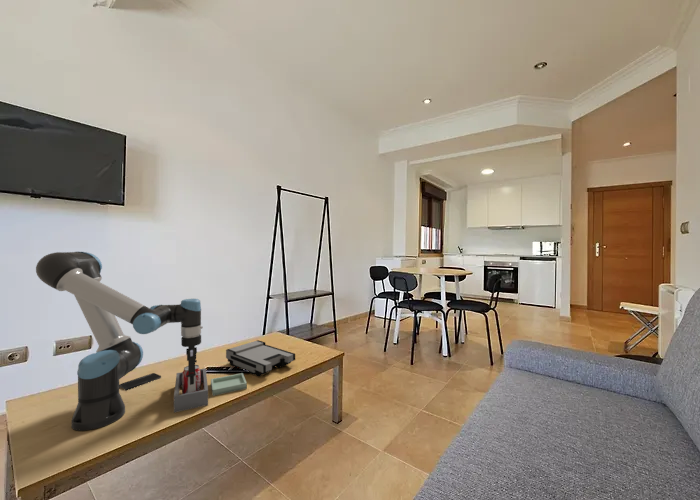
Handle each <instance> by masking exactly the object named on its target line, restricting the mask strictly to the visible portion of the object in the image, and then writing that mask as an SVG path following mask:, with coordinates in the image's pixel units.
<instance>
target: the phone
mask: <svg viewBox="0 0 700 500" xmlns="http://www.w3.org/2000/svg"><path fill="white" fill-rule="evenodd" d="M160 379H162V376H161V375H160V374H157V373H155V372H152V373H149V374H145V375H143V376H141V377H137V378H135V379H131V380H128V381H125V382H122V383H119V388H120V387H121V389H122V388H123V389H122V390H124V389H125V391H129V390H131V388H132V389H135V388H137V386H138V387H140V385H141V386H143V385H146V384H149V383H151V381H152V382H154V380H155V381H156V380H160ZM148 382H149V383H148ZM134 387H135V388H134ZM128 389H129V390H128Z"/></svg>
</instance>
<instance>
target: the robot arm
mask: <svg viewBox="0 0 700 500" xmlns="http://www.w3.org/2000/svg"><path fill="white" fill-rule="evenodd" d="M102 269H103V264H102V262H101V259H99V257H98V256H97V255H95V254H93V253H90V252H87V251H86V252H85V251H72V252H71V251H68V252H66V251H65V252H63V251H62V252H60V251H59V252H58V251H57V252H52V253H48V254H46V255H44V256H43V257H41V258H40V259H39V260H38V262H37V264H36V265H35V272H36V276H37V277H38V279H39V280H40V281H42V282H43V283H44V284H46V285H47V286H49V287H51V288H53V289H55V290H56V291H59V292H67V293H69V294H72V295H74V298H75V300H76V302H77V303H78V304H77V305H78V306H79V308H80V310H81V312H82V314H83V316H84V318H85V320H86V323H87V324H88V326H89V328H90V331H91V332H92V335H93V336H94V338H95V340H96V343H97V345H98V348H97V350H96V352H95V353H91V354H88V355H87V356H85V357H83V358H82V359H80V361H79V363H78V367H77V399H78V400H77V402H78V403H77V405H76V407H75V411H74V413H73V416H72V418H71V429H72V430H74V431H78V432H81V431H82V432H83V431H84V432H85V431H90V430H91V431H92V430H95V429H98V428H103V427H105V426H108V425H110V424H112V423H114V422H115V423H116V421H118V420H120V419H121V418H122V417H123V416H124V415H125V414H126V405H125V402H124V400H123V398H122V395H121V393H120V387H119V385H120V380H121V379H122V378H123V377H125V376H126V375H127V374H129V373H130V372H132V371H134V370H136V368H137V367H138V366H139V365H140V363H142V360H143V357H144V350H143V348H142V345H140V344H139V343H138V342H135V341H133V340H132V338H131V336H129V335H126V334H124V332H123V330H122V328H121V326H120V324H119V322H118V320H117V318H119V319H121V320H124V321H125V322H127V323H129V324H131V325H132V328H133V330H134V331H135V333H137V334H140V335H147V334H151V333H154V332H155V331H157V330H159V328H162V327H163V326H165V325H167V324H174V323H180V324H181V325H180V326H181V327H180V331H181V332H180V336H181V338H180V339H181V342H180V343H181V346H182V347H183V348H186V349H185V350H186V351H185V352H186V354H185V355H186V361H187V363H188V365H187V366H188V375H186V377H188V392H193V391H196V373H195V365H196V363H197V353H198V351H197V350H198V349H197V346H199V345H201V344H202V329H203V326H202V322H201V321H202V305H201V300H200V299H198V298H185V299H182V300H181V301H180V303H179V304H159V305H158V304H157V305H153V306H152V305H151V306H150V307H148V306H145V305H144V304H142V303H140V302H139V301H137V300H134V299H132V297H131V298H130V297H129V296H127V295H125V294H123V293H121V292H119V291H118V290H115V289H113V288H112V287H110V286H108V285H106V284H104V283H103V282H101V280H102V279H103V278H102V275H101V272H102ZM116 317H117V318H116Z"/></svg>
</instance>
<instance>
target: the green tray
mask: <svg viewBox="0 0 700 500" xmlns="http://www.w3.org/2000/svg"><path fill="white" fill-rule="evenodd" d="M244 375H245V374H244V373H243V372H241V373H236V374H231V375H224V376H220V377H215V378H211V379H210V387H211V393H212V394H211V395H212V397H214V396H218V395H222V394H223V395H224V394H228V393H232V392H238V391H242V390H246V389H247V388H248V383H247V382H248V381H247V380H246V378H245V376H244Z"/></svg>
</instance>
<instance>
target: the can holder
mask: <svg viewBox="0 0 700 500" xmlns="http://www.w3.org/2000/svg"><path fill="white" fill-rule="evenodd" d="M182 372H183V371H181V372H176V376H175V382H174V383H175V384H174V386H175V387H174V392H173V414H174V413H178V412H183V411H187V410H192V409H196V408H201V407H206V406H209V386H208V377H207V369H206V368H204V367H203V368H200V373H201V384H202V385H203V387H202V389H200V391H195V392H190V393H185V394H182V393H181V394H180V388H182Z"/></svg>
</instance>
